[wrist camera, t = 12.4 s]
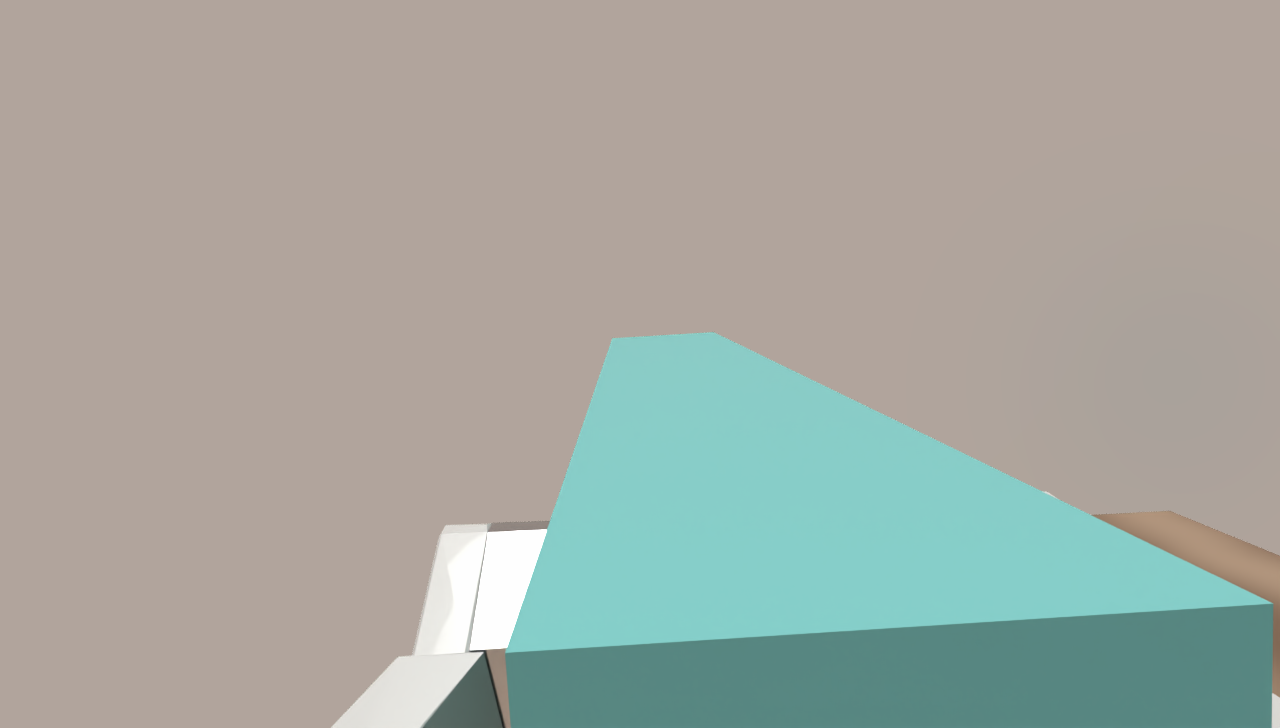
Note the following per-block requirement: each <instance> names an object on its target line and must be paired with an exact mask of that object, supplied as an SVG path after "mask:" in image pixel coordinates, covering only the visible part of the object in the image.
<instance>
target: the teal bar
mask: <svg viewBox="0 0 1280 728" xmlns="http://www.w3.org/2000/svg"><path fill="white" fill-rule="evenodd" d="M505 660H506V673H507V685H508V698H509V711H510V724H511V728H1272V667H1273V603H1271V602H1269V601H1267V600H1265V599H1263V598H1261V597H1259V596H1257V595H1255V594H1253V593H1250V592H1248V591H1246V590H1244V589H1242V588H1240V587H1238V586H1236V585H1234V584H1232V583H1230V582H1228V581H1226V580H1224V579H1222V578H1220V577H1217V576H1215V575H1213V574H1211V573H1209V572H1207V571H1205V570H1203V569H1201V568H1199V567H1197V566H1195V565H1193V564H1191V563H1189V562H1187V561H1184V560H1182V559H1180V558H1178V557H1176V556H1174V555H1172V554H1170V553H1168V552H1166V551H1164V550H1162V549H1160V548H1158V547H1156V546H1154V545H1151V544H1149V543H1147V542H1145V541H1143V540H1141V539H1139V538H1137V537H1135V536H1133V535H1131V534H1129V533H1127V532H1125V531H1123V530H1121V529H1118V528H1116V527H1114V526H1112V525H1110V524H1108V523H1106V522H1104V521H1102V520H1100V519H1098V518H1096V517H1094V516H1092V515H1090V514H1087V513H1085V512H1083V511H1081V510H1079V509H1077V508H1075V507H1073V506H1071V505H1069V504H1067V503H1065V502H1063V501H1061V500H1059V499H1057V498H1055V497H1052V496H1050V495H1048V494H1046V493H1044V492H1042V491H1040V490H1038V489H1036V488H1034V487H1032V486H1030V485H1027V484H1026V483H1024V482H1021V481H1019V480H1017V479H1015V478H1013V477H1011V476H1009V475H1007V474H1005V473H1003V472H1001V471H999V470H997V469H994V468H992V467H991V466H988V465H986V464H984V463H982V462H980V461H978V460H976V459H974V458H972V457H970V456H968V455H966V454H963V453H962V452H960V451H958V450H955V449H953V448H951V447H949V446H947V445H945V444H943V443H941V442H939V441H937V440H935V439H933V438H931V437H929V436H927V435H925V434H922V433H920V432H918V431H916V430H914V429H912V428H910V427H908V426H906V425H904V424H902V423H900V422H898V421H896V420H893V419H892V418H889V417H887V416H885V415H883V414H881V413H879V412H877V411H875V410H873V409H871V408H869V407H867V406H865V405H863V404H860V403H859V402H856V401H854V400H852V399H850V398H848V397H846V396H844V395H842V394H840V393H838V392H836V391H834V390H832V389H830V388H828V387H826V386H823V385H821V384H819V383H817V382H815V381H813V380H811V379H809V378H807V377H805V376H803V375H800V374H799V373H797V372H794V371H792V370H790V369H788V368H786V367H784V366H782V365H780V364H778V363H776V362H774V361H772V360H770V359H768V358H766V357H764V356H762V355H759V354H757V353H755V352H753V351H751V350H749V349H747V348H745V347H743V346H741V345H739V344H736V343H735V342H733V341H731V340H728V339H726V338H724V337H722V336H720V335H718V334H716V333H714V332H710V333H694V334H678V335H661V336H644V337H628V338H613V339H612V341H611V344H610V347H609V350H608V353H607V356H606V359H605V361H604V364H603V367H602V370H601V373H600V376H599V379H598V382H597V385H596V388H595V391H594V394H593V397H592V400H591V402H590V405H589V409H588V411H587V414H586V417H585V420H584V423H583V426H582V429H581V432H580V435H579V438H578V440H577V444H576V446H575V449H574V452H573V455H572V458H571V461H570V464H569V467H568V470H567V473H566V476H565V479H564V482H563V485H562V487H561V491H560V494H559V496H558V499H557V502H556V505H555V508H554V511H553V514H552V517H551V520H550V522H549V525H548V528H547V531H546V534H545V537H544V540H543V543H542V546H541V549H540V552H539V555H538V558H537V561H536V563H535V566H534V569H533V572H532V575H531V578H530V581H529V584H528V587H527V590H526V593H525V596H524V599H523V601H522V604H521V607H520V610H519V613H518V616H517V619H516V622H515V625H514V628H513V631H512V634H511V637H510V640H509V642H508V645H507V648H506V651H505Z"/></svg>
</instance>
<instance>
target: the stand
mask: <svg viewBox="0 0 1280 728" xmlns="http://www.w3.org/2000/svg"><path fill="white" fill-rule="evenodd" d="M1092 516H1094V517H1096V518H1098V519H1100V520H1102V521H1104V522H1106V523H1108V524H1110V525H1112V526H1114V527H1116V528H1118V529H1121V530H1123V531H1125V532H1127V533H1129V534H1131V535H1133V536H1135V537H1137V538H1139V539H1141V540H1143V541H1145V542H1147V543H1149V544H1151V545H1154V546H1156V547H1158V548H1160V549H1162V550H1164V551H1166V552H1168V553H1170V554H1172V555H1174V556H1176V557H1178V558H1180V559H1182V560H1184V561H1187V562H1189V563H1191V564H1193V565H1195V566H1197V567H1199V568H1201V569H1203V570H1205V571H1207V572H1209V573H1211V574H1213V575H1215V576H1217V577H1220V578H1222V579H1224V580H1226V581H1228V582H1230V583H1232V584H1234V585H1236V586H1238V587H1240V588H1242V589H1244V590H1246V591H1248V592H1250V593H1253V594H1255V595H1257V596H1259V597H1261V598H1263V599H1265V600H1267V601H1269V602H1271V603H1273V667H1272V693H1273V694H1275V695H1276V696H1278V697H1280V556H1279V555H1276V554H1274V553H1272V552H1269V551H1266V550H1264V549H1262V548H1259V547H1257V546H1254V545H1252V544H1250V543H1247V542H1244V541H1242V540H1240V539H1237V538H1235V537H1232V536H1230V535H1227V534H1225V533H1222V532H1220V531H1218V530H1215V529H1213V528H1210V527H1208V526H1205V525H1203V524H1201V523H1198V522H1196V521H1193V520H1191V519H1188V518H1186V517H1183V516H1181V515H1178V514H1176V513H1174V512H1171V511H1160V512H1140V513H1123V514H1122V513H1121V514H1102V515H1092Z"/></svg>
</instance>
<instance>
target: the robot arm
mask: <svg viewBox="0 0 1280 728" xmlns="http://www.w3.org/2000/svg"><path fill="white" fill-rule="evenodd" d="M1044 493H1046V494H1048V495H1050V496H1052V497H1054V496H1053V495H1051V494H1050V493H1048V492H1044ZM1055 498H1056V497H1055ZM549 522H550V521H534V522H505V523H504V522H503V523H492V524H467V525H446V526H445V527H444V529H443V531H442V532H441V535H440V536H439V538H438V543H437V547H436V552H435V556H434V560H433V565H432V569H431V574H430V578H429V582H428V587H427V591H426V596H425V600H424V605H423V609H422V613H421V618H420V623H419V627H418V631H417V636H416V640H415V644H414V649H413V653H412V656H400V657H397V658H396V659H395V660H394V661H393V662H392V663H391V664H390V665H389V667H387V669H386V670H385V671H384V672H383V673H382V674H381V675H380V676H379V677H378V678H377V679H376V680H375V681H374V682H373V683H372V684H371V685H370V686H369V688H368V689H367V690H366V691H365V692H364V693H363V694H362V695H361V696H360V697H359V698H358V699H357V700H356V701H355V702H354V704H353V705H352V706H351V707H350V708H349V709H348V710H347V711H346V712H345V713H344V714H343V715H342V716H341V717H340V718H339V719H338V720H337V722H336V723H335V724H334V725H333V726H332V727H331V728H511V724H510V711H509V698H508V685H507V673H506V660H505V651H506V648H507V645H508V642H509V640H510V637H511V634H512V631H513V628H514V625H515V622H516V619H517V616H518V613H519V610H520V607H521V604H522V601H523V599H524V596H525V593H526V590H527V587H528V584H529V581H530V578H531V575H532V572H533V569H534V566H535V563H536V561H537V558H538V555H539V552H540V549H541V546H542V543H543V540H544V537H545V534H546V531H547V528H548V525H549ZM1272 728H1280V697H1278V696H1276V695H1275V694H1273V693H1272Z"/></svg>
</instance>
